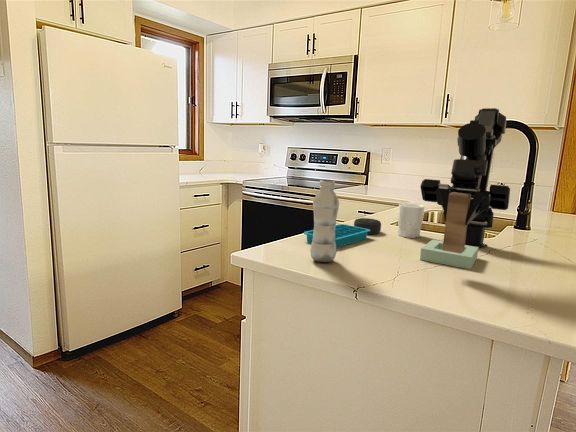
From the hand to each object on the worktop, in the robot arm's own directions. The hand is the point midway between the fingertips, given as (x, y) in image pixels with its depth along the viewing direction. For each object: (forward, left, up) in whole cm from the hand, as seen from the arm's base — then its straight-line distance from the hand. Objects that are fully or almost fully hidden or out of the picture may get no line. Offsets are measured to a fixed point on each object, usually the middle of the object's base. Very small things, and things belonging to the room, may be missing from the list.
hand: (455, 222), depth 88 cm
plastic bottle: (+22, -20, -13) cm, 32 cm away
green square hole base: (-11, -10, -12) cm, 19 cm away
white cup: (-20, -34, -13) cm, 41 cm away
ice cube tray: (+6, -37, -13) cm, 39 cm away
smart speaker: (-10, -43, -13) cm, 46 cm away
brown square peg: (-1, -1, -7) cm, 7 cm away
